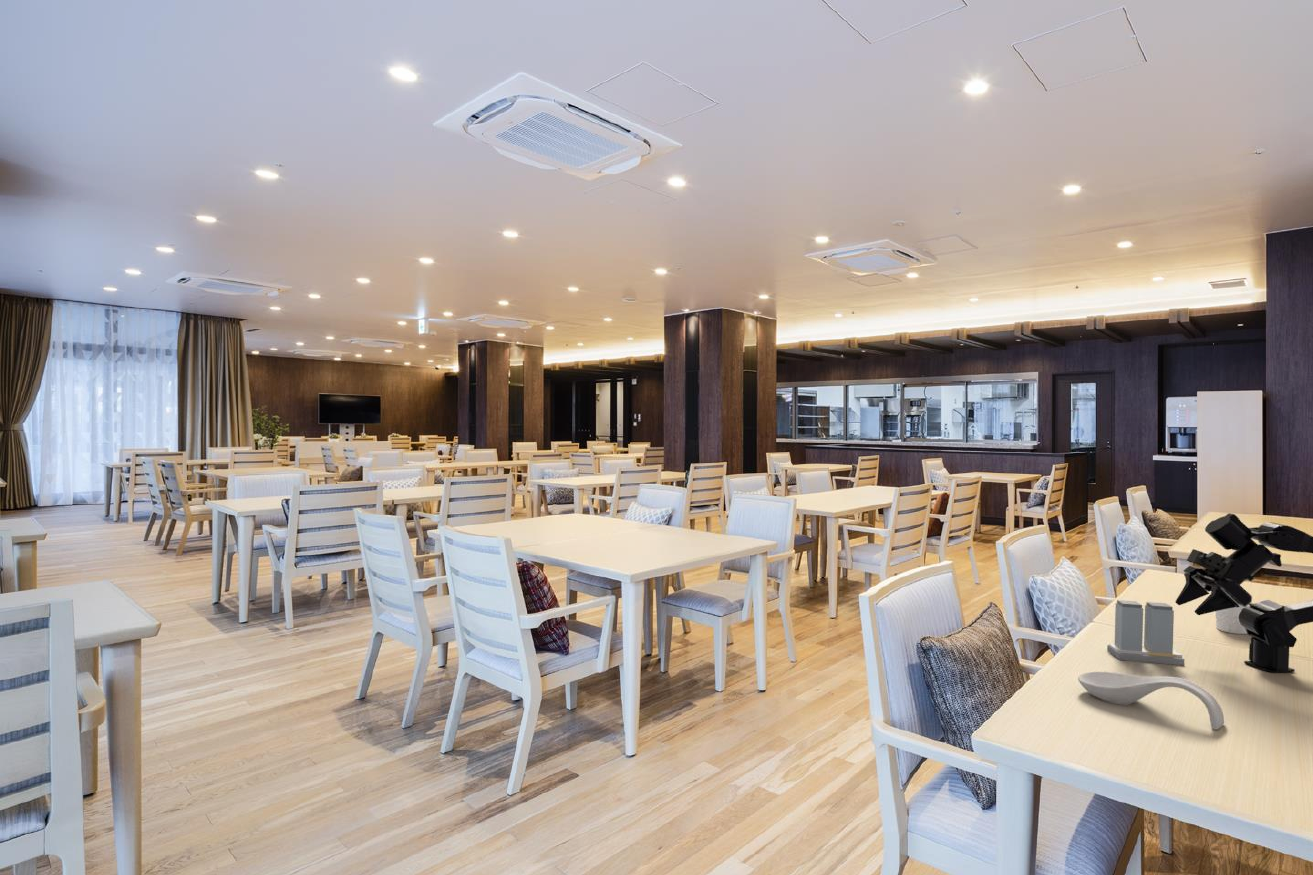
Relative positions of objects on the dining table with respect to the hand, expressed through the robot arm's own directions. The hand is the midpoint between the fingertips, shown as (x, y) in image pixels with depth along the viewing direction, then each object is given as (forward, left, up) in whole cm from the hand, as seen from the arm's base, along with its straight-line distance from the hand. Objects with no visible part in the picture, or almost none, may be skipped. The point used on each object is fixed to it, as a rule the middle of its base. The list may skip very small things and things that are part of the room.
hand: (1186, 608), depth 165 cm
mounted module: (+4, +11, -10) cm, 16 cm away
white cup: (+22, -36, -13) cm, 44 cm away
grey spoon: (-24, +32, -13) cm, 42 cm away
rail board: (+3, +8, -12) cm, 15 cm away
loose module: (+2, +5, -10) cm, 12 cm away
